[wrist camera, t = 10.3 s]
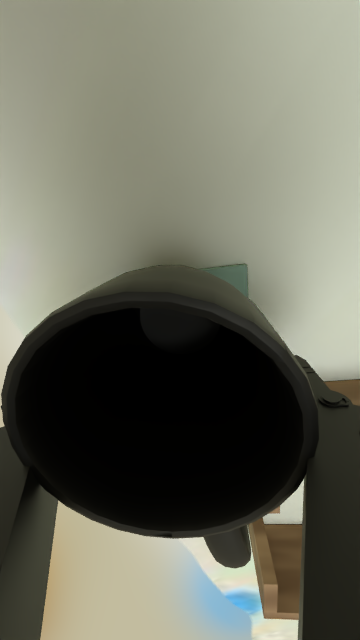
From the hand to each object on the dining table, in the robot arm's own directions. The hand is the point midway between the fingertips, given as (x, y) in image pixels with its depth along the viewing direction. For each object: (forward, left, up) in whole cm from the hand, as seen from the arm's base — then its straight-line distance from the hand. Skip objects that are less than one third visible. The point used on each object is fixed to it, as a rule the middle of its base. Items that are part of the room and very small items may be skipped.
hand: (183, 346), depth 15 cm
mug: (0, 0, -1) cm, 1 cm away
